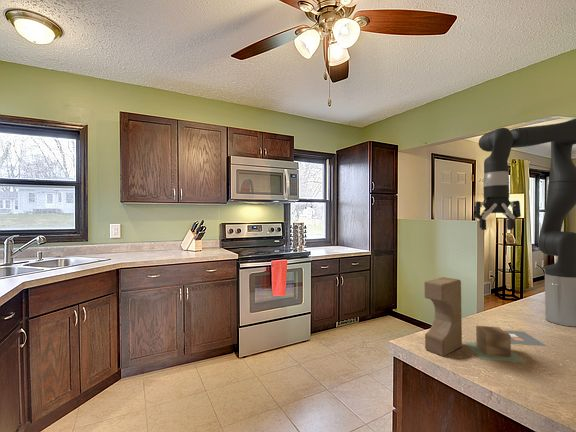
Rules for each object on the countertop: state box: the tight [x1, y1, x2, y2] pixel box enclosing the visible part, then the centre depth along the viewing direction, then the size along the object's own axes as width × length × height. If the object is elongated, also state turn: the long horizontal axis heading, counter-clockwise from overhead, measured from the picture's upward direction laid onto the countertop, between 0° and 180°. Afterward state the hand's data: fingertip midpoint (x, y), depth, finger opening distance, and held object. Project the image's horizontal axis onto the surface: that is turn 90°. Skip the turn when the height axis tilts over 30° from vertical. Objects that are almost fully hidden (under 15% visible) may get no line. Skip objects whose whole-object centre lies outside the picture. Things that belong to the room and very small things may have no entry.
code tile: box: [503, 329, 547, 347], centre depth 91 cm, size 11×11×1 cm
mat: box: [463, 341, 528, 363], centre depth 81 cm, size 11×11×1 cm
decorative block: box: [423, 276, 463, 357], centre depth 84 cm, size 11×6×20 cm, turn 124°
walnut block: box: [475, 325, 512, 357], centre depth 81 cm, size 6×6×6 cm
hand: (496, 229), depth 103 cm, fingers open, 8 cm apart
